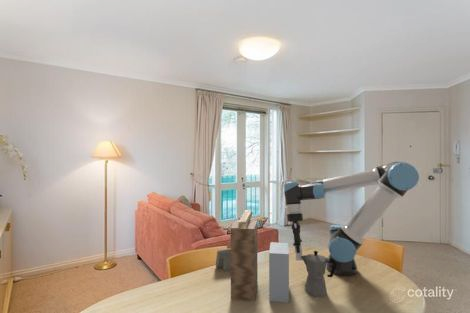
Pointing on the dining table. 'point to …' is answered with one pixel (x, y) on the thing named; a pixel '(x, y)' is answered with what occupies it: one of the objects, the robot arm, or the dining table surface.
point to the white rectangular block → (279, 272)
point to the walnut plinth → (244, 261)
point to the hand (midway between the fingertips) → (299, 258)
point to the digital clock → (224, 259)
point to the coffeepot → (317, 273)
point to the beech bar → (245, 219)
